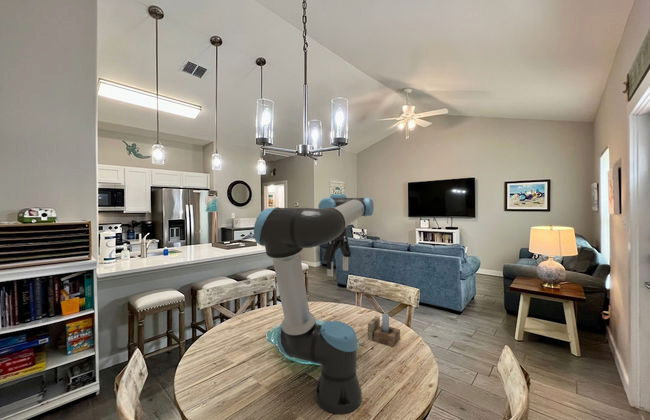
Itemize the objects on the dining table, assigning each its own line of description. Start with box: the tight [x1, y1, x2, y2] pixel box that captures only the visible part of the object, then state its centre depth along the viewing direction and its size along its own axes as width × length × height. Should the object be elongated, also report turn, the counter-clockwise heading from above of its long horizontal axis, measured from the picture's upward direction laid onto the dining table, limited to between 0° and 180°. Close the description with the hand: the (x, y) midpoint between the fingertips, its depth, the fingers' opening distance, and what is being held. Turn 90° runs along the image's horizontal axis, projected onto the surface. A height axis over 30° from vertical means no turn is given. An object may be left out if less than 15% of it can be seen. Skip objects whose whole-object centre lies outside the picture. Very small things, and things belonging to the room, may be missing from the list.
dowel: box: [381, 312, 390, 333], centre depth 128 cm, size 3×3×12 cm
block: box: [373, 324, 401, 348], centre depth 127 cm, size 9×9×4 cm
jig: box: [367, 316, 381, 342], centre depth 127 cm, size 9×16×9 cm, turn 56°
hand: (338, 273), depth 128 cm, fingers open, 13 cm apart
